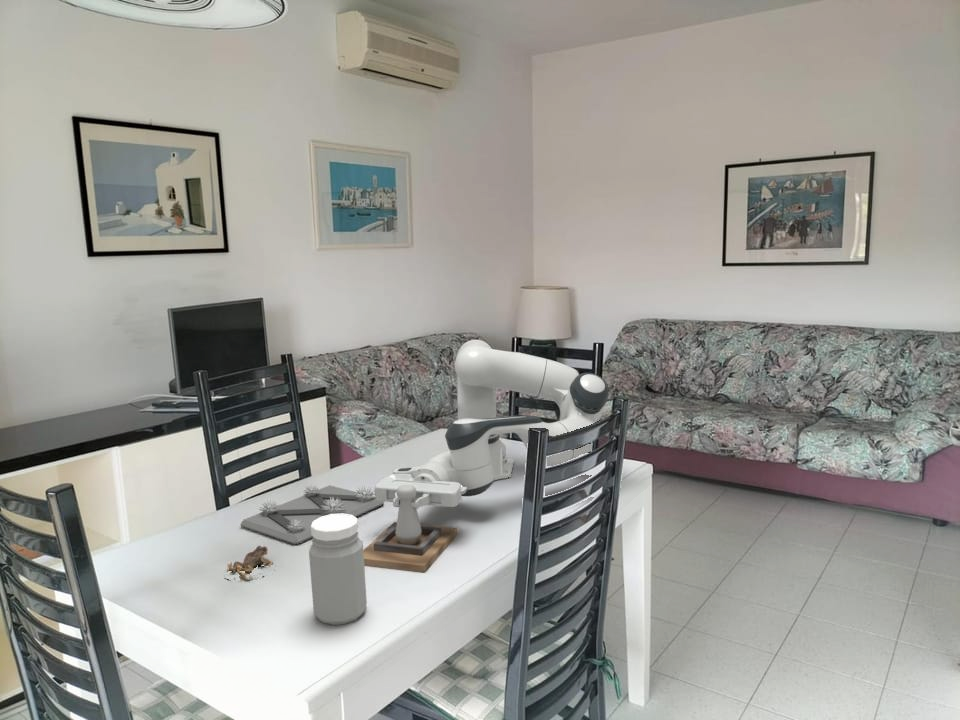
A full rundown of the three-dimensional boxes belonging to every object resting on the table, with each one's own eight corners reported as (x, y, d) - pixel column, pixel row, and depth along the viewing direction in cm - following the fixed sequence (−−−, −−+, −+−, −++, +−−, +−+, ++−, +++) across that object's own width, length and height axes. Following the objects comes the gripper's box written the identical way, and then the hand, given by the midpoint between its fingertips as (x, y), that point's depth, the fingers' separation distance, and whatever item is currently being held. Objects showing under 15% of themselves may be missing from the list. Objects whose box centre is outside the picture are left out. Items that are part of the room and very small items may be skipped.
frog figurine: (247, 555, 159) (245, 539, 158) (290, 563, 154) (288, 547, 153) (208, 578, 148) (207, 561, 148) (253, 587, 143) (252, 569, 143)
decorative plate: (330, 492, 198) (328, 467, 196) (386, 507, 185) (385, 481, 184) (238, 529, 174) (235, 501, 172) (296, 549, 161) (293, 519, 160)
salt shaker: (411, 549, 154) (408, 492, 152) (390, 544, 157) (387, 488, 155) (427, 539, 159) (424, 484, 157) (406, 535, 162) (403, 480, 160)
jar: (305, 625, 127) (297, 531, 124) (326, 598, 137) (319, 510, 134) (356, 629, 126) (350, 533, 123) (374, 601, 135) (368, 512, 132)
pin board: (394, 527, 170) (394, 515, 169) (457, 534, 165) (457, 521, 164) (355, 564, 151) (354, 551, 151) (424, 572, 146) (424, 558, 146)
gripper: (470, 499, 166) (449, 522, 153) (390, 493, 172) (364, 514, 159) (469, 474, 165) (448, 494, 152) (389, 468, 171) (362, 487, 158)
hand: (404, 504), depth 155 cm, fingers closed on salt shaker, 3 cm apart
